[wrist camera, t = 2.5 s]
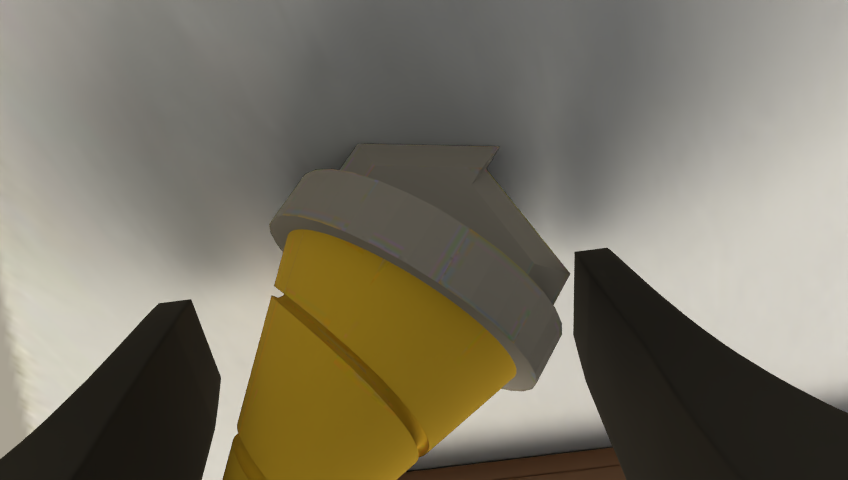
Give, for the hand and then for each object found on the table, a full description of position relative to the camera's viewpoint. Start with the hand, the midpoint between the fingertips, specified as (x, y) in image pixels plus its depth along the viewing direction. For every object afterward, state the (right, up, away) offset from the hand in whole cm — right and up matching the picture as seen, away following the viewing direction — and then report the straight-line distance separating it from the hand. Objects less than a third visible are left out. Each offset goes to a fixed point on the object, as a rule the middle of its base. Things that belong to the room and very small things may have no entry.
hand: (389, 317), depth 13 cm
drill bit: (0, +1, +2) cm, 2 cm away
